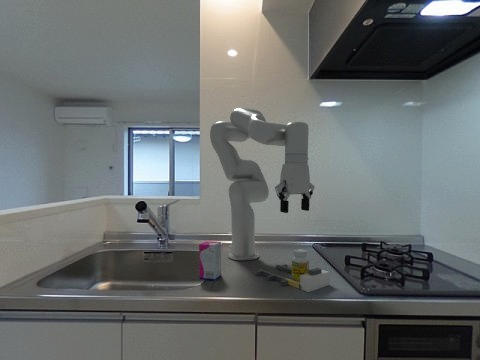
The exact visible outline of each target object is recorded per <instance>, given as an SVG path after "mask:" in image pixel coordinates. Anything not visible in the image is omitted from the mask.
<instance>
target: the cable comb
mask: <svg viewBox="0 0 480 360" xmlns="http://www.w3.org/2000/svg"><path fill="white" fill-rule="evenodd" d="M275 268H276V269H277V270H280V271H282V272H286V273H288V274H292V267H291V268H290V267H288V264H287V263H286V264H285V263H284V264H281V265H280V264H276V265H275ZM255 276H257V277H258V276H265V277H267V278H266V279H267V281H273V280H275V281H278V282H280V285H279V286H281V287H284V286H286V285H288V286H291V287H294V288H296V289H299V290H301V291H304V292H307V293H310V292H313V291H316V290H319V289H322V288H324V287H327V286H330V271H327V270H324V269H322V268H320V267H315V268H311V269H309V270H308V273H307V274H304V275H300V283H299V282H296V281H293V280H292V278H291V279H290V278H288V277H287V278H286V277H284V276H281V275H278V274H275V273H273V272H270V271H267V270H265V269H262V268H258V269H257V271H255Z"/></svg>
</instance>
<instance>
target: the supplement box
mask: <svg viewBox="0 0 480 360" xmlns="http://www.w3.org/2000/svg"><path fill="white" fill-rule="evenodd" d="M198 253H199V254H198V258H199V259H198V261H199V262H198V263H199V270H198V271H199V272H198V273H199V277H198V278H199V280H201V281H202V280H204V281H213V282H214V281H215V282H216V281H217V280H218V279H219V278H221V276H222V242H221V241H212V240H211V241H210V240H209V241H207V240H206V241H204V242H202V243H199V244H198Z"/></svg>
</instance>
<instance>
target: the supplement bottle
mask: <svg viewBox="0 0 480 360" xmlns="http://www.w3.org/2000/svg"><path fill="white" fill-rule="evenodd" d="M293 255H294V256H292V258H291V269H292V273H291V280H293V281H296V282H299V283H300V275H304V274H307V273H308V270H310V258H309V257H308V251H307V250H306V249H303V248H302V249H301V248H299V249H294V250H293Z"/></svg>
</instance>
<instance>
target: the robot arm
mask: <svg viewBox="0 0 480 360" xmlns="http://www.w3.org/2000/svg"><path fill="white" fill-rule="evenodd" d="M229 119H230V121H224V120H222V121H217V122H214V123H212V125H211V126H210V131H209V137H210V142H211V146H212V148H213V150H214V152H215V153H216V155H217V157H218V159H219V161H220V165H221V167H222V169H223V172H224V174H225V177H226V179H227V180H228V181H230V182H232V183H231V184H230V185H229V187H228V196H229V197H228V198H229V202H230V210H231V211H230V213H231V218H230V219H231V245H228V249H230V252H229V253H228V256H227V257H228V259H231V260H234V261H251V260H252V261H253V260H256V259H258V258H259V257H260V255H259V253H258V252H257V251H256V245H255V244H256V243H255V242H256V241H255V240H256V237H255V236H256V235H255V233H256V232H255V231H256V230H255V227H256V225H255V223H256V222H255V212H254V209H253V208H252V205H251V204H255V203H256V204H257V203H263V202H265V201H267V199H268V198H269V195H270V193H269V190H270V189H269V186H268V183H267V181H266V179H265V176H264V174H263V172H262V170H261V168H260V166H259V164H258V162H256V161H254V160H252V159H243V158H241V157H240V155H239V153H238V150H237V149H236V147H234V145H232V143H230V142H236V143H238V142H240V143H241V142H246V141H247V140H248V139H252V140H253V141H255V142H257V143H259V144H263V145H265V146H277V147H284V163H283V164H282V166H281V170H280V176H279V177H280V180H279V183H278V184H277V185H276V186H274V190H275V193H276V196H277V197H278V200H279V201H280V203H279V208H280V209H279V211H280V212H281V213H285V214H288V213H289V197H290V196H291V195H301V198H300V199H301V202H300V209H301V211H305V212H306V211H307V212H308V211H310V200H311V198H312V196H313V194H314V190H315V185H314V184H312V183H311V177H310V167H309V163H308V161H309V155H308V154H309V130H310V129H309V123H306V122H303V121H292V122H288V123H287V124H284V123H283V124H282V123H275V122H268V121H267V120H266V117H265V116H264V114H263V113H262V112H261V111H260V110H258V109H253V108H247V107H246V108H245V107H238V108H235V109H234V110H232V111H231V113H230V116H229Z"/></svg>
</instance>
